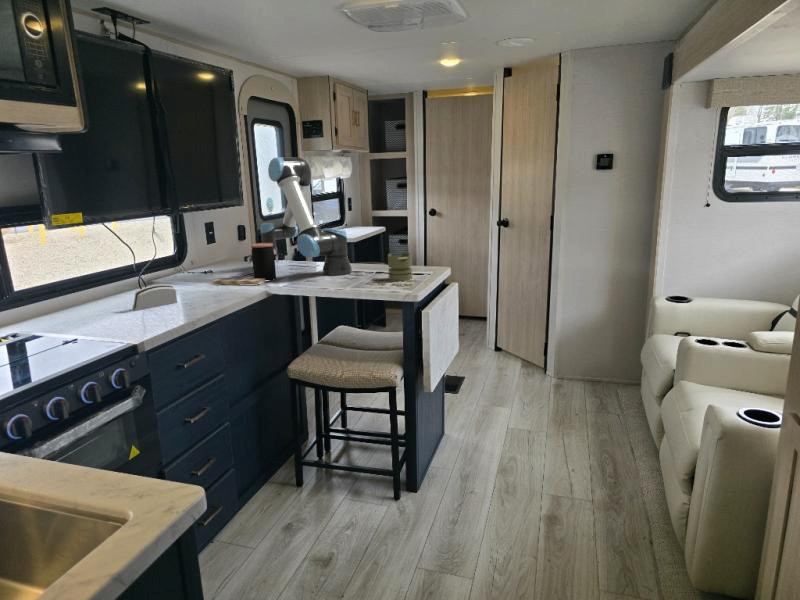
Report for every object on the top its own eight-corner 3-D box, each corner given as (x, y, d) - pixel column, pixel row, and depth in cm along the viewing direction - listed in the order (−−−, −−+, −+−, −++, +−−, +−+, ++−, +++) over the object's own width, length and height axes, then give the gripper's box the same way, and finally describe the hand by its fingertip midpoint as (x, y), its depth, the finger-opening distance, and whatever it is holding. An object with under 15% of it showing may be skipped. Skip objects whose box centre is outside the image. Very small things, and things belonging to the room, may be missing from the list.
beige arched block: (172, 301, 225) (173, 280, 220) (177, 306, 222) (178, 285, 218) (131, 309, 213) (131, 287, 209) (136, 314, 210) (136, 292, 206)
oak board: (265, 282, 258) (264, 278, 258) (258, 285, 252) (258, 280, 251) (220, 281, 263) (220, 277, 263) (213, 284, 257) (212, 280, 256)
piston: (385, 253, 257) (407, 252, 260) (386, 278, 259) (407, 276, 263) (391, 256, 246) (414, 255, 249) (392, 282, 249) (415, 279, 252)
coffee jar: (279, 277, 269) (276, 242, 265) (272, 281, 259) (268, 245, 255) (258, 278, 270) (255, 242, 266) (251, 282, 260) (247, 245, 256)
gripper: (291, 260, 285) (288, 266, 264) (244, 262, 282) (237, 269, 261) (290, 246, 283) (287, 251, 262) (242, 248, 280) (235, 254, 260)
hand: (262, 260), depth 262 cm, fingers open, 13 cm apart
